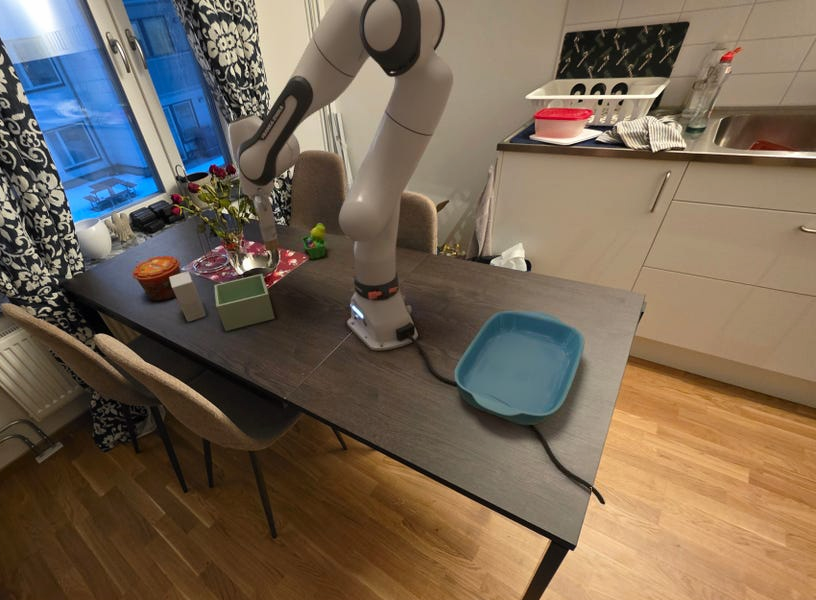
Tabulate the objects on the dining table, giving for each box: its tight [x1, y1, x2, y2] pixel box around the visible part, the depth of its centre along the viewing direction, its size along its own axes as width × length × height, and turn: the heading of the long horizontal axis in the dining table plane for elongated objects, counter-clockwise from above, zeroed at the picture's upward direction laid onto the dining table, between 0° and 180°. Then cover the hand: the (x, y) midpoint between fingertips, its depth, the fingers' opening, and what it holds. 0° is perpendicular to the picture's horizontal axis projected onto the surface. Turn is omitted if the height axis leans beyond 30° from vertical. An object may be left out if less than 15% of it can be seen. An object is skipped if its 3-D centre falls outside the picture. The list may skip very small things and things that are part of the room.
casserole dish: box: [453, 310, 585, 426], centre depth 89 cm, size 37×22×7 cm, turn 145°
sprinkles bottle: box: [254, 205, 280, 252], centre depth 115 cm, size 5×5×13 cm
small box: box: [169, 271, 207, 323], centre depth 124 cm, size 8×6×13 cm
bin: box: [213, 273, 276, 332], centre depth 122 cm, size 14×16×9 cm
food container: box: [132, 255, 182, 302], centre depth 138 cm, size 16×16×11 cm
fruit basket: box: [301, 222, 327, 260], centre depth 149 cm, size 11×9×11 cm
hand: (268, 232), depth 116 cm, fingers closed on sprinkles bottle, 4 cm apart
